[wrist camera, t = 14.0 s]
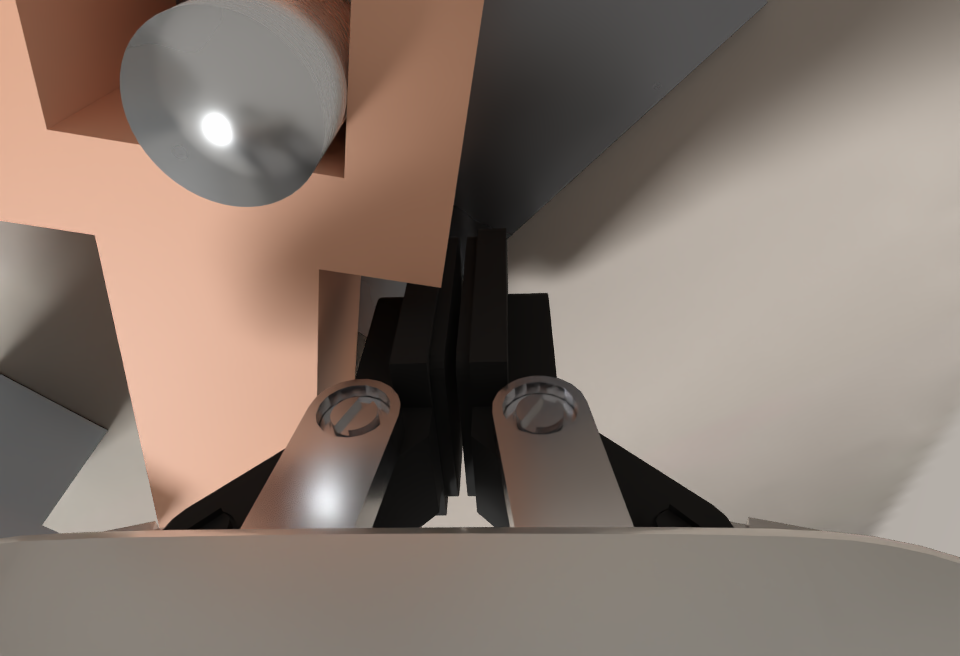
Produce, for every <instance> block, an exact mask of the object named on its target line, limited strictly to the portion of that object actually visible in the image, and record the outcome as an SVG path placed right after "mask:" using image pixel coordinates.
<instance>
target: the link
mask: <svg viewBox="0 0 960 656" xmlns="http://www.w3.org/2000/svg"><path fill="white" fill-rule="evenodd" d="M483 5H484V0H351V16H350V42H349V68H348V94H347V118H346V119H345V121H344V123H343V124H342V126H341V127H340V129H339V131H338V132H337V134H336V136H335V137H334V139H333V141H332V142H331V144H330V146H329V147H328V149H327V150H326V152H325V154H324V155H323V157H322V159H321V160H320V162H319V164H318V165H317V167H316V169H315V170H314V172H313V173H312V175H311V176H310V177H309V179H308V180H307V181H306V182H305V183H304V185H303V186H302V187H301V188H300V189H298V190H297V191H296V192H294V193H293V194H292V195H290V196H288V197H286V198H284V199H283V200H280V201H278V202H275V203H272V204H268V205H263V206H256V207H236V206H230V205H224V204H220V203H217V202H213V201H210V200H208V199H205V198H203V197H200V196H198V195H196V194H194V193H192V192H190V191H188V190H187V189H185V188H184V187H182V186H181V185H179V184H177V183H176V182H175V181H173V180H172V179H171V178H170V177H168V176H167V175H166V174H165V173H164V172H163V171H162V170H161V169H160V168H159V167H158V166H157V165H156V164H155V163H154V162H153V161H152V160H151V159H150V157H149V156H148V155H147V154H146V153H145V151H144V150H143V148H142V147H141V145H140V144H139V143H138V141H137V139H136V137H135V135H134V134H133V132H132V130H131V128H130V125H129V123H128V120H127V118H126V115H125V112H124V108H123V105H122V99H121V93H120V71H121V63H122V60H123V56H124V52H125V50H126V48H127V46H128V44H129V42H130V40H131V38H132V37H133V36H134V34H135V33H136V31H137V30H138V29H139V28H140V27H141V26H142V25H143V24H144V23H145V22H146V21H148V20H149V19H151V18H152V17H153V16H155V15H157V14H159V13H161V12H163V11H165V10H167V9H170V8H172V7H174V6H176V0H0V221H6V222H12V223H19V224H25V225H32V226H38V227H45V228H51V229H58V230H65V231H71V232H78V233H84V234H91V235H95V238H96V243H97V247H98V252H99V257H100V261H101V266H102V270H103V275H104V279H105V284H106V288H107V293H108V297H109V302H110V306H111V311H112V315H113V320H114V324H115V329H116V334H117V338H118V343H119V347H120V352H121V356H122V361H123V365H124V370H125V374H126V379H127V383H128V388H129V392H130V397H131V401H132V406H133V411H134V415H135V420H136V424H137V429H138V433H139V438H140V442H141V447H142V451H143V456H144V460H145V465H146V469H147V474H148V478H149V483H150V488H151V492H152V497H153V501H154V506H155V510H156V515H157V519H158V524H159V528H163V527H166V525H167V524H168V523H169V522H170V521H171V520H172V519H173V518H174V517H176V516H177V515H178V514H180V513H181V512H182V511H184V510H185V509H186V508H188V507H190V506H191V505H193V504H194V503H196V502H198V501H199V500H201V499H203V498H204V497H206V496H208V495H209V494H211V493H213V492H214V491H216V490H218V489H219V488H221V487H222V486H224V485H226V484H227V483H229V482H231V481H232V480H234V479H236V478H237V477H239V476H241V475H242V474H244V473H246V472H247V471H249V470H250V469H252V468H254V467H255V466H257V465H259V464H260V463H262V462H264V461H265V460H267V459H269V458H270V457H272V456H274V455H275V454H277V453H278V452H280V451H282V450H283V449H285V448H286V446H287V444H288V443H289V441H290V439H291V437H292V435H293V434H294V432H295V430H296V428H297V427H298V425H299V423H300V421H301V419H302V418H303V416H304V414H305V412H306V411H307V409H308V407H309V405H310V404H311V403H312V402H313V400H314V399H315V398H316V397H317V396H318V395H319V394H321V393H322V392H323V391H325V390H326V389H327V388H329V387H332V386H334V385H336V384H338V383H340V382H345V381H349V380H354V379H355V367H356V351H357V335H358V318H359V302H360V285H361V276H367V277H373V278H380V279H386V280H393V281H400V282H406V283H413V284H419V285H426V286H432V287H439V288H441V284H442V278H443V271H444V264H445V258H446V251H447V244H448V238H449V231H450V224H451V218H452V211H453V204H454V198H455V191H456V184H457V178H458V171H459V164H460V158H461V151H462V145H463V138H464V131H465V125H466V118H467V111H468V105H469V98H470V91H471V85H472V78H473V71H474V65H475V58H476V51H477V45H478V38H479V31H480V25H481V18H482V11H483Z"/></svg>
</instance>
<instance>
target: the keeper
mask: <svg viewBox="0 0 960 656" xmlns="http://www.w3.org/2000/svg"><path fill="white" fill-rule="evenodd" d="M107 431H108V430H106V429H104V428H102V427H100V426H98V425H96V424H94V423H92V422H90V421H89V420H87V419H85V418H83V417H81V416H79V415H77V414H75V413H73V412H71V411H70V410H68V409H66V408H64V407H62V406H60V405H58V404H56V403H54V402H52V401H51V400H49V399H47V398H45V397H43V396H41V395H39V394H37V393H35V392H33V391H31V390H30V389H28V388H26V387H24V386H22V385H20V384H18V383H16V382H14V381H12V380H11V379H9V378H7V377H5V376H3V375H1V374H0V538H6V537H14V536H23V535H41V534H60V533H58V532H56V531H53V530H51V529H49V528H47V527H44V526H42V524H43V523H44V522H45V520H46V519H47V517H48V516H49V514H50V513H51V511H52V510H53V509H54V507H55V506H56V504H57V503H58V501H59V500H60V498H61V497H62V496H63V494H64V493H65V491H66V490H67V488H68V487H69V486H70V484H71V483H72V481H73V480H74V478H75V477H76V475H77V474H78V473H79V471H80V470H81V468H82V467H83V465H84V464H85V462H86V461H87V460H88V458H89V457H90V455H91V454H92V452H93V451H94V449H95V448H96V447H97V445H98V444H99V442H100V441H101V439H102V438H103V437H104V435H105V434H106V432H107Z"/></svg>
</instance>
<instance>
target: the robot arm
mask: <svg viewBox="0 0 960 656" xmlns="http://www.w3.org/2000/svg"><path fill="white" fill-rule="evenodd" d="M462 448H463V452H464V463H465V473H466V484H467V493H468V496H476V503H477V512H478V513H479V514H480V515H481V516H482V517H483V518H485V519H486V520H487V521H488V522H489V523H491V524H492V525H493V526H494V527H452V528H422V526H423V525H424V524H425V523H426V522H428V521H429V520H430V519H432V518H433V517H434V516H435V515H446V514H447V503H448V496H459V491H460V477H461V463H462ZM0 656H960V557H957V556H954V555H950V554H947V553H943V552H940V551H937V550H933V549H930V548H927V547H923V546H919V545H914V544H909V543H905V542H899V541H895V540H890V539H885V538H880V537H875V536H867V535H858V534H849V533H840V532H831V531H821V530H816V529H810V528H805V527H799V526H794V525H788V524H783V523H777V522H772V521H767V520H761V519H756V518H750V517H749V518H748V521H747V524H746V525H745V524H740V523H735V522H730V521H729V520H728V518H727V517H726V516H725V515H724V514H723V513H722V512H721V511H719V510H718V509H717V508H716V507H714V506H713V505H712V504H710V503H709V502H707V501H706V500H704V499H702V498H701V497H699V496H698V495H696V494H695V493H693V492H691V491H690V490H688V489H687V488H685V487H684V486H682V485H680V484H679V483H677V482H676V481H674V480H673V479H671V478H669V477H668V476H666V475H665V474H663V473H662V472H660V471H658V470H657V469H655V468H654V467H652V466H651V465H649V464H647V463H646V462H644V461H643V460H641V459H639V458H638V457H636V456H635V455H633V454H632V453H630V452H628V451H627V450H625V449H624V448H622V447H621V446H619V445H617V444H616V443H614V442H613V441H611V440H610V439H608V438H606V437H605V436H603V435H602V434H600V433H599V432H598V429H597V427H596V424H595V421H594V419H593V416H592V413H591V411H590V408H589V405H588V403H587V401H586V399H585V397H584V396H583V394H582V392H581V391H580V390H578V389H577V388H576V387H575V386H573V385H572V384H570V383H568V382H566V381H564V380H561V379H559V378H557V376H556V366H555V356H554V346H553V336H552V327H551V317H550V307H549V298H548V293H532V294H508V271H507V236H506V228H487V229H478V235H477V236H470V237H467V242H466V252H465V263H464V274H463V277H462V264H461V251H460V240H459V237H449V238H448V244H447V251H446V258H445V264H444V271H443V278H442V284H441V288H439V287H432V286H426V285H419V284H413V283H407V285H406V289H405V294H404V297H381V298H379V299H378V301H377V304H376V307H375V311H374V315H373V318H372V322H371V325H370V329H369V332H368V336H367V339H366V343H365V347H364V350H363V354H362V357H361V361H360V364H359V368H358V371H357V375H356V379H354V380H349V381H345V382H340V383H338V384H336V385H334V386H332V387H329V388H327V389H326V390H325V391H323V392H322V393H321V394H319V395H318V396H317V397H316V398H315V399H314V400H313V402H312V403H311V404H310V405H309V407H308V409H307V411H306V412H305V414H304V416H303V418H302V419H301V421H300V423H299V425H298V427H297V428H296V430H295V432H294V434H293V435H292V437H291V439H290V441H289V443H288V444H287V446H286V448H285V449H283V450H282V451H280V452H278V453H277V454H275V455H274V456H272V457H270V458H269V459H267V460H265V461H264V462H262V463H260V464H259V465H257V466H255V467H254V468H252V469H250V470H249V471H247V472H246V473H244V474H242V475H241V476H239V477H237V478H236V479H234V480H232V481H231V482H229V483H227V484H226V485H224V486H222V487H221V488H219V489H218V490H216V491H214V492H213V493H211V494H209V495H208V496H206V497H204V498H203V499H201V500H199V501H198V502H196V503H194V504H193V505H191V506H190V507H188V508H186V509H185V510H184V511H182V512H181V513H180V514H178V515H177V516H176V517H174V518H173V519H172V520H171V521H170V522H169V523H168V524H167V525H166V527H163V528H159V527H158V525H157V523H156V522H155V521H154V522H149V523H144V524H139V525H134V526H129V527H124V528H119V529H114V530H109V531H104V532H80V533H60V534H41V535H23V536H14V537H6V538H0Z"/></svg>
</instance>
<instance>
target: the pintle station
mask: <svg viewBox="0 0 960 656" xmlns="http://www.w3.org/2000/svg"><path fill="white" fill-rule="evenodd" d="M767 3H768V2H767V1H766V0H484V5H483V11H482V18H481V25H480V31H479V38H478V45H477V51H476V58H475V65H474V71H473V78H472V85H471V91H470V98H469V105H468V111H467V118H466V125H465V131H464V138H463V145H462V151H461V158H460V164H459V171H458V178H457V184H456V191H455V198H454V204H453V211H452V218H451V224H450V231H449V237H459V240H460V251H461V264H462V277H463V274H464V263H465V252H466V242H467V237H470V236H477V235H478V229H487V228H506V236H507V239H508V238H509V237H510V236H511V235H512V234H513V233H514V232H516V231H517V230H518V229H519V228H520V227H521V226H522V225H523V224H524V223H525V222H527V221H528V220H529V219H530V218H531V217H532V216H533V215H534V214H535V213H536V212H538V211H539V210H540V209H541V208H542V207H543V206H544V205H545V204H546V203H547V202H549V201H550V200H551V199H552V198H553V197H554V196H555V195H556V194H557V193H558V192H560V191H561V190H562V189H563V188H564V187H565V186H566V185H567V184H568V183H569V182H571V181H572V180H573V179H574V178H575V177H576V176H577V175H578V174H579V173H581V172H582V171H583V170H584V169H585V168H586V167H587V166H588V165H589V164H590V163H592V162H593V161H594V160H595V159H596V158H597V157H598V156H599V155H600V154H601V153H603V152H604V151H605V150H606V149H607V148H608V147H609V146H610V145H611V144H612V143H614V142H615V141H616V140H617V139H618V138H619V137H620V136H621V135H622V134H623V133H625V132H626V131H627V130H628V129H629V128H630V127H631V126H632V125H633V124H635V123H636V122H637V121H638V120H639V119H640V118H641V117H642V116H643V115H644V114H646V113H647V112H648V111H649V110H650V109H651V108H652V107H653V106H654V105H655V104H657V103H658V102H659V101H660V100H661V99H662V98H663V97H664V96H665V95H666V94H668V93H669V92H670V91H671V90H672V89H673V88H674V87H675V86H676V85H677V84H679V83H680V82H681V81H682V80H683V79H684V78H685V77H686V76H687V75H688V74H690V73H691V72H692V71H693V70H694V69H695V68H696V67H697V66H698V65H700V64H701V63H702V62H703V61H704V60H705V59H706V58H707V57H708V56H709V55H711V54H712V53H713V52H714V51H715V50H716V49H717V48H718V47H719V46H720V45H722V44H723V43H724V42H725V41H726V40H727V39H728V38H729V37H730V36H731V35H733V34H734V33H735V32H736V31H737V30H738V29H739V28H740V27H741V26H742V25H744V24H745V23H746V22H747V21H748V20H749V19H750V18H751V17H752V16H754V15H755V14H756V13H757V12H758V11H759V10H760V9H761V8H762V7H763V6H765V5H766V4H767ZM350 16H351V0H176V6H174V7H172V8H170V9H167V10H165V11H163V12H161V13H159V14H157V15H155V16H153V17H152V18H151V19H149V20H148V21H146V22H145V23H144V24H143V25H142V26H141V27H140V28H139V29H138V30H137V31H136V33H135V34H134V36H133V37H132V38H131V40H130V42H129V44H128V46H127V48H126V50H125V52H124V56H123V60H122V63H121V71H120V93H121V99H122V105H123V108H124V112H125V115H126V118H127V120H128V123H129V125H130V128H131V130H132V132H133V134H134V135H135V137H136V139H137V141H138V143H139V144H140V145H141V147H142V148H143V150H144V151H145V153H146V154H147V155H148V156H149V157H150V159H151V160H152V161H153V162H154V163H155V164H156V165H157V166H158V167H159V168H160V169H161V170H162V171H163V172H164V173H165V174H166V175H167V176H168V177H170V178H171V179H172V180H173V181H175V182H176V183H177V184H179V185H181V186H182V187H184V188H185V189H187V190H188V191H190V192H192V193H194V194H196V195H198V196H200V197H203V198H205V199H208V200H210V201H213V202H217V203H220V204H224V205H230V206H236V207H256V206H263V205H268V204H272V203H275V202H278V201H280V200H283V199H284V198H286V197H288V196H290V195H292V194H293V193H294V192H296V191H297V190H298V189H300V188H301V187H302V186H303V185H304V183H305V182H306V181H307V180H308V179H309V177H310V176H311V175H312V173H313V172H314V170H315V169H316V167H317V165H318V164H319V162H320V160H321V159H322V157H323V155H324V154H325V152H326V150H327V149H328V147H329V146H330V144H331V142H332V141H333V139H334V137H335V136H336V134H337V132H338V131H339V129H340V127H341V126H342V124H343V123H344V121H345V119H346V118H347V94H348V68H349V42H350ZM406 285H407V283H406V282H400V281H393V280H386V279H380V278H373V277H367V276H361V285H360V302H359V318H358V332H360V333H361V334H363V335H364V336H365V337H367V336H368V332H369V329H370V325H371V322H372V318H373V315H374V311H375V307H376V304H377V301H378V299H379V298H381V297H404V294H405V289H406Z"/></svg>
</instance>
